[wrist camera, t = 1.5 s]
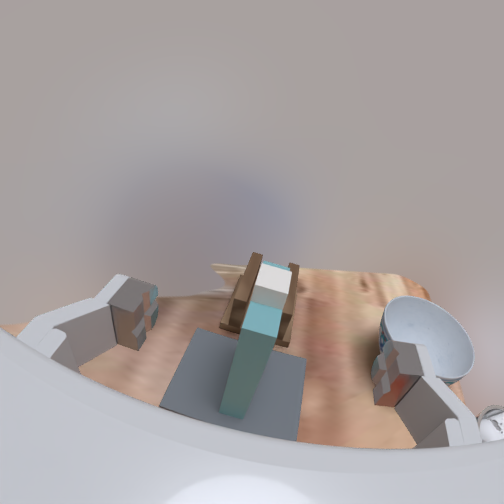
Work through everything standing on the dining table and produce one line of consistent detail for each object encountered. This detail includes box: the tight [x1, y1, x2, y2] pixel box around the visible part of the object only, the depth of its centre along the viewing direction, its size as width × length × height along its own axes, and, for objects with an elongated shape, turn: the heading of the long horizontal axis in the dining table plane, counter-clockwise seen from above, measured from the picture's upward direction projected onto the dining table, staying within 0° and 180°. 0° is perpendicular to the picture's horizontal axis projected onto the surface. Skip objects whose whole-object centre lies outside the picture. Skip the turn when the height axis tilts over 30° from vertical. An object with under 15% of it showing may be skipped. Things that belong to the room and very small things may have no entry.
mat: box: [159, 328, 306, 441], centre depth 31 cm, size 14×12×1 cm
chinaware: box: [379, 296, 475, 386], centre depth 34 cm, size 15×15×8 cm
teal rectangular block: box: [219, 261, 292, 419], centre depth 27 cm, size 2×9×15 cm, turn 168°
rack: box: [220, 252, 299, 347], centre depth 41 cm, size 9×11×6 cm
